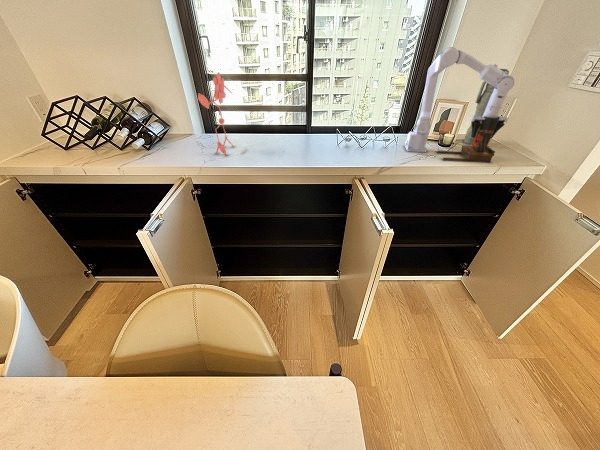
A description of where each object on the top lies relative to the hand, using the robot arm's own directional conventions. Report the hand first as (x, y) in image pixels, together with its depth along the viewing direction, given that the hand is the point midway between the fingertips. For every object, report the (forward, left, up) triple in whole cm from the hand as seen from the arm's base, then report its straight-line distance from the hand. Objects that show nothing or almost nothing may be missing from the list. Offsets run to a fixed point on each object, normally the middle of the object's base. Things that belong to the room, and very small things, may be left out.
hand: (481, 137), depth 121 cm
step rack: (-5, -2, -9) cm, 11 cm away
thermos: (+8, +21, -10) cm, 25 cm away
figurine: (-120, -10, -10) cm, 121 cm away
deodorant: (0, -2, -6) cm, 6 cm away
